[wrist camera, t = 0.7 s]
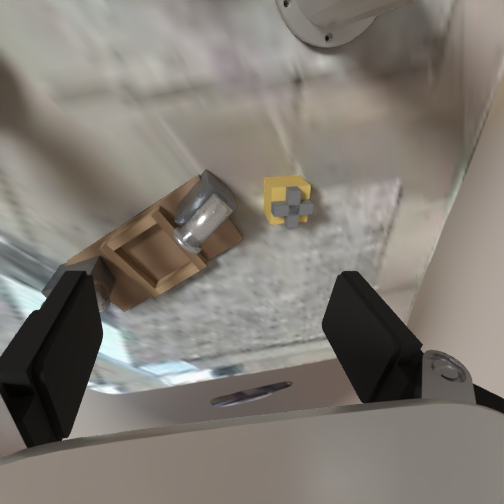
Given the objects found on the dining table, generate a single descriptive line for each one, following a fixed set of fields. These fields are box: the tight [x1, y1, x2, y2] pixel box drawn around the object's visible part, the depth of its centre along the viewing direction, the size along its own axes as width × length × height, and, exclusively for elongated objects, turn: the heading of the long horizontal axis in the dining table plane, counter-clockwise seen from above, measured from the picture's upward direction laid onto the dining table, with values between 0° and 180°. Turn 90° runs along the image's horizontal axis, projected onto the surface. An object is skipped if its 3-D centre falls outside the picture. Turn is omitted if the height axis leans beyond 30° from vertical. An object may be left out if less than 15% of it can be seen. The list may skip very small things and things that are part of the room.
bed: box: [65, 175, 243, 312], centre depth 40 cm, size 22×11×3 cm, turn 120°
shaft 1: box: [41, 255, 116, 312], centre depth 37 cm, size 7×4×9 cm, turn 105°
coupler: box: [264, 176, 314, 229], centre depth 37 cm, size 5×5×6 cm
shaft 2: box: [172, 169, 237, 254], centre depth 34 cm, size 7×4×9 cm, turn 135°
